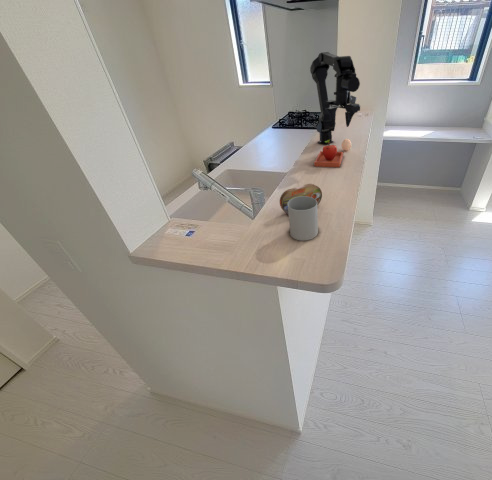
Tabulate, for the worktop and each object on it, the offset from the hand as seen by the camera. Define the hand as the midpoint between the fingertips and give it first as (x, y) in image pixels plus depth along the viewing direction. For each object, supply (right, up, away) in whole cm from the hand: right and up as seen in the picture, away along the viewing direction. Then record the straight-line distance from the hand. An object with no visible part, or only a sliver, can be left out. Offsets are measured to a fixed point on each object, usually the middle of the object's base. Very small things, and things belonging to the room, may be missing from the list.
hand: (340, 125), depth 132 cm
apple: (-6, -19, -4) cm, 20 cm away
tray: (-6, -19, -4) cm, 20 cm away
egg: (+4, -10, +8) cm, 13 cm away
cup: (-18, -55, -51) cm, 77 cm away
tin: (-19, -47, -40) cm, 64 cm away
